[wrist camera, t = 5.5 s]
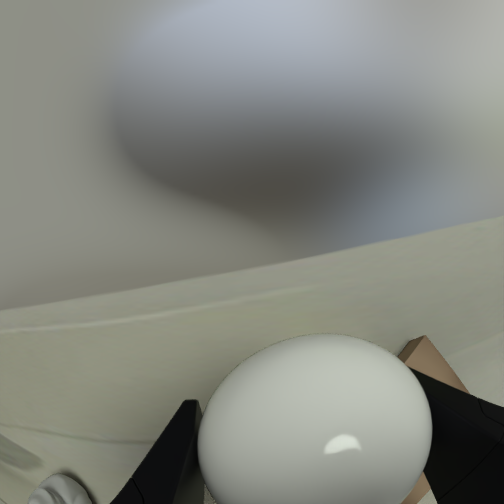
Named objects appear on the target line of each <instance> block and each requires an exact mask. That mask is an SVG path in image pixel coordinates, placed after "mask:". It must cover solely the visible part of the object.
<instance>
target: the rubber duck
mask: <svg viewBox="0 0 504 504" xmlns="http://www.w3.org/2000/svg"><path fill="white" fill-rule="evenodd" d="M28 504H92V502H91V500H90V499H89V498H88V494H87V492H86V491H85V490H84V489H83V487H81V486H80V485H79V484H78V483H77V482H76V481H74V480H73V479H71V478H70V477H67V476H65V475H63V474H59V473H57V474H54V475H51V476H50V477H48V478H46V479H45V480H44V481H42V482H41V484H40V485H39V487H38V488H37V489H36V490H35V491H34V492H33V493H32V494H31V495H30V497H29V500H28Z"/></svg>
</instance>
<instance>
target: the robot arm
mask: <svg viewBox="0 0 504 504" xmlns="http://www.w3.org/2000/svg"><path fill="white" fill-rule="evenodd" d="M407 367H408V366H407ZM408 368H409V369H410V370H411V371H412V372H413V374H414V375H415V376H416V378H417V379H418V381H419V383H420V384H421V386H422V388H423V390H424V392H425V394H426V397H427V400H428V403H429V406H430V411H431V417H432V442H431V448H430V452H429V456H428V459H427V462H426V465H425V468H424V470H423V472H424V475H425V477H426V479H427V481H428V483H429V485H430V488H431V490H432V492H433V494H434V496H435V499H436V501H437V504H504V407H501V406H498V405H495V404H493V403H490V402H487V401H485V400H483V399H480V398H477V397H475V396H473V395H471V394H468V393H466V392H464V391H461V390H459V389H457V388H455V387H452V386H450V385H448V384H446V383H443V382H441V381H439V380H437V379H434V378H432V377H430V376H428V375H426V374H423V373H421V372H419V371H417V370H415V369H413V368H411V367H408ZM202 416H203V415H202V412H201V408H200V405H199V402H198V400H196V399H190V400H184V401H183V403H182V404H181V406H180V407H179V409H178V410H177V412H176V413H175V415H174V416H173V418H172V419H171V421H170V422H169V423H168V425H167V426H166V428H165V429H164V431H163V432H162V434H161V435H160V437H159V438H158V439H157V441H156V442H155V444H154V445H153V447H152V448H151V450H150V451H149V452H148V454H147V455H146V457H145V458H144V459H143V461H142V462H141V464H140V465H139V467H138V468H137V469H136V471H135V472H134V474H133V475H132V478H130V479H129V480H128V482H127V483H126V485H125V486H124V487H123V488H122V490H121V491H120V492H119V494H118V495H117V496H116V497H115V498H114V499H113V501H112V502H111V503H110V504H204V487H205V482H204V480H203V477H202V474H201V471H200V467H199V462H198V455H197V439H198V432H199V427H200V422H201V419H202Z"/></svg>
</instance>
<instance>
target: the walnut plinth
mask: <svg viewBox="0 0 504 504" xmlns="http://www.w3.org/2000/svg"><path fill="white" fill-rule="evenodd" d="M398 358H399V359H400V360H401V361H402V362H403V363H404V364H405V365H406V366H408V367H411V368H413V369H415V370H417V371H419V372H421V373H423V374H426V375H428V376H430V377H432V378H434V379H437V380H439V381H441V382H443V383H446V384H448V385H450V386H452V387H455V388H457V389H459V390H461V391H464V392H466V393H468V394H470V393H469V392H468V390H467V389H466V388H465V386H464V385H463V383H462V382H461V381H460V379H459V378H458V377H457V375H456V374H455V372H454V371H453V370H452V368H451V367H450V366H449V364H448V363H447V362H446V361H445V359H444V358H443V357H442V355H441V354H440V353H439V351H438V350H437V349H436V348H435V346H434V345H433V344H432V343H431V341H430V340H429V339H428V338H427V336H426V335H424V336H421V337H419V338H416V339H413V340H411V341H409V343H408V344H407V345H406V347H405V348H404V349H403V351H402V352H401V353H400V354H399V356H398ZM430 489H431V488H430V485H429V483H428V481H427V479H426V477H425V475H424V472H422V474H421V476H420V478H419V480H418V482H417V483H416V485H415V486H414V488H413V489H412V491H411V492H410V493H409V495H408V496H407V497H406V498H405V499H404V500H403V502H402V503H401V504H417V503H418V502H419V501H420V500H421V499H422V497H423V496H424V495H425V494H426V493H427V492H428V491H429V490H430Z"/></svg>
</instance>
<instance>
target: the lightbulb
mask: <svg viewBox="0 0 504 504" xmlns="http://www.w3.org/2000/svg"><path fill="white" fill-rule="evenodd" d="M431 442H432V417H431V411H430V406H429V403H428V400H427V397H426V394H425V392H424V390H423V388H422V386H421V384H420V383H419V381H418V379H417V378H416V376H415V375H414V374H413V372H412V371H411V370H410V369H409V368H408V367H407V366H406V365H405V364H404V363H403V362H402V361H401V360H400V359H399V358H398V357H396V356H395V355H394V354H392V353H391V352H389V351H388V350H386V349H384V348H382V347H381V346H379V345H376V344H374V343H372V342H370V341H367V340H364V339H361V338H357V337H353V336H349V335H342V334H331V333H320V334H308V335H302V336H297V337H293V338H289V339H286V340H283V341H280V342H277V343H274V344H272V345H270V346H268V347H266V348H264V349H262V350H260V351H258V352H256V353H255V354H253V355H251V356H250V357H248V358H247V359H245V360H244V361H243V362H241V363H240V364H239V365H238V366H237V367H235V368H234V369H233V370H232V371H231V372H230V373H229V374H228V375H227V376H226V377H225V379H224V380H223V381H222V382H221V383H220V385H219V386H218V387H217V389H216V390H215V392H214V393H213V395H212V397H211V398H210V400H209V402H208V404H207V406H206V408H205V411H204V413H203V416H202V419H201V422H200V427H199V432H198V439H197V455H198V462H199V467H200V471H201V474H202V477H203V480H204V482H205V485H206V487H207V489H208V491H209V492H210V494H211V496H212V497H213V499H214V500H215V501H216V503H217V504H401V503H402V502H403V500H404V499H405V498H406V497H407V496H408V495H409V493H410V492H411V491H412V489H413V488H414V486H415V485H416V483H417V482H418V480H419V478H420V476H421V474H422V472H423V470H424V468H425V465H426V462H427V459H428V456H429V452H430V448H431Z"/></svg>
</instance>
